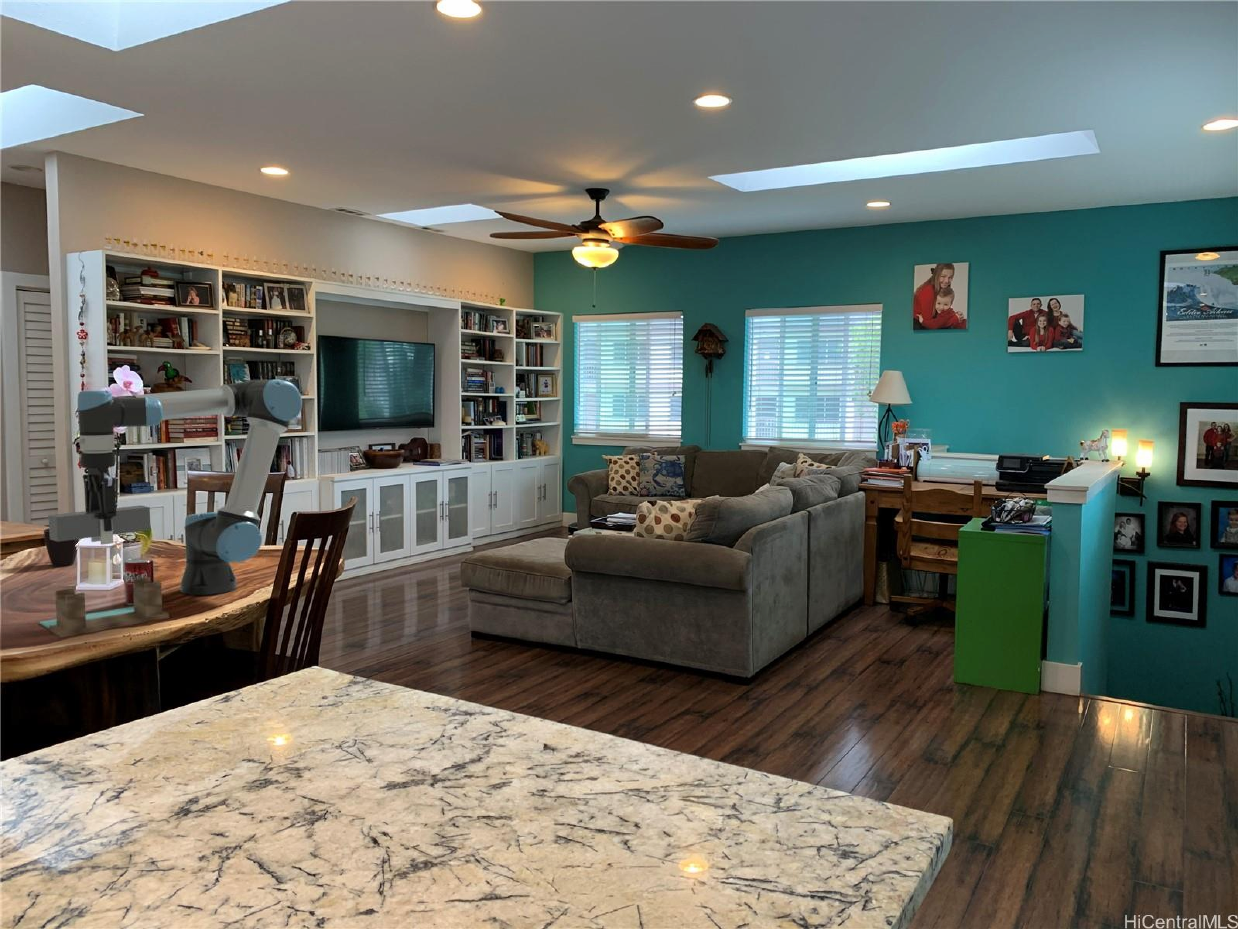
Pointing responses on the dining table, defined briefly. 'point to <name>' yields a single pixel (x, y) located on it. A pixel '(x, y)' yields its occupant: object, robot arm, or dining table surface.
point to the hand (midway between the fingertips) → (102, 542)
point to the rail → (97, 523)
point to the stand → (75, 622)
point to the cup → (60, 550)
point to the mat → (93, 615)
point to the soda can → (136, 574)
